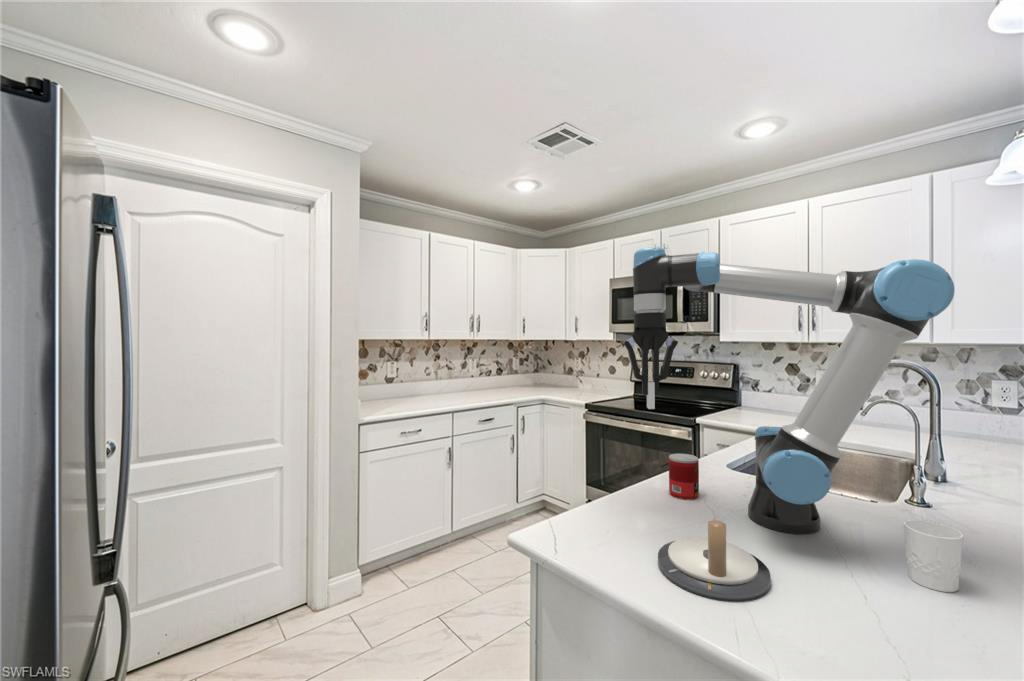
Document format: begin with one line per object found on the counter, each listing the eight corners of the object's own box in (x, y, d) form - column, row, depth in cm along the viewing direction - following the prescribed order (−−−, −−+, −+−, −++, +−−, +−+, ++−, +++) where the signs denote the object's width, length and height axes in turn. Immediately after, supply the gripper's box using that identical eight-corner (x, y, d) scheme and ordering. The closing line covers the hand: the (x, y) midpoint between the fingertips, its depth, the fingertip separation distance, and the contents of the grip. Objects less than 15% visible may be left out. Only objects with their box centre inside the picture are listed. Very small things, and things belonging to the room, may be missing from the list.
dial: (686, 534, 97) (685, 490, 97) (767, 559, 86) (767, 509, 86) (654, 563, 85) (654, 512, 85) (744, 595, 74) (744, 537, 74)
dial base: (746, 548, 94) (746, 540, 94) (791, 605, 74) (790, 596, 74) (650, 543, 97) (650, 535, 97) (668, 596, 77) (668, 587, 77)
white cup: (892, 571, 84) (892, 520, 84) (930, 569, 85) (929, 518, 85) (935, 596, 76) (935, 539, 76) (976, 593, 77) (976, 537, 77)
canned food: (701, 500, 121) (701, 461, 121) (671, 499, 123) (671, 460, 123) (695, 491, 129) (695, 453, 128) (667, 489, 130) (666, 452, 130)
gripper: (674, 312, 110) (675, 405, 110) (621, 313, 112) (622, 405, 112) (680, 310, 102) (681, 411, 103) (623, 312, 104) (625, 410, 105)
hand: (650, 407), depth 107 cm, fingers closed
